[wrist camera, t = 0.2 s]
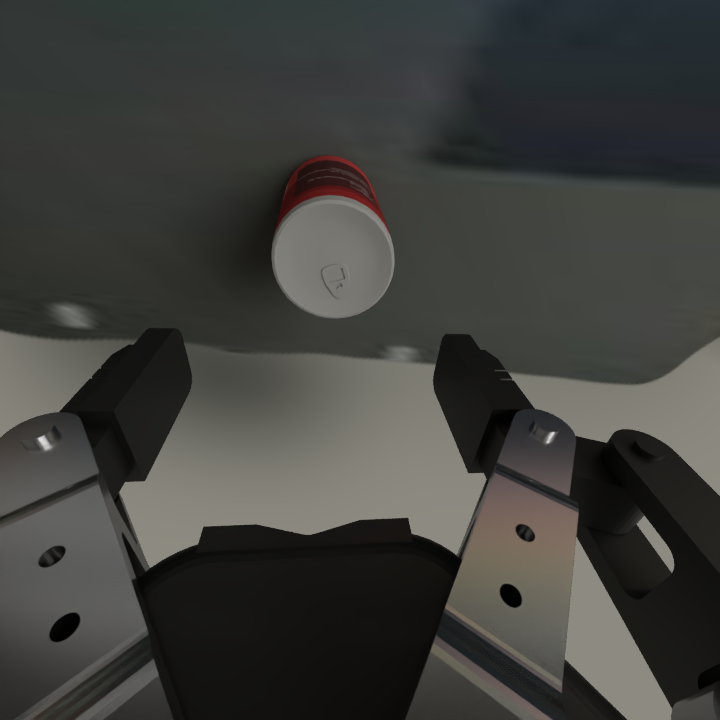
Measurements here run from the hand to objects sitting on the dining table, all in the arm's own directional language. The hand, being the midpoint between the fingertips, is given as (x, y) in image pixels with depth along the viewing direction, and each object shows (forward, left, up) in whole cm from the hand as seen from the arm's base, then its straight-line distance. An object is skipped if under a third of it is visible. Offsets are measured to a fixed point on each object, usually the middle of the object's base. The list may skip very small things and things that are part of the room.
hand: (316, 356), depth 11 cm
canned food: (+2, +2, -23) cm, 23 cm away
